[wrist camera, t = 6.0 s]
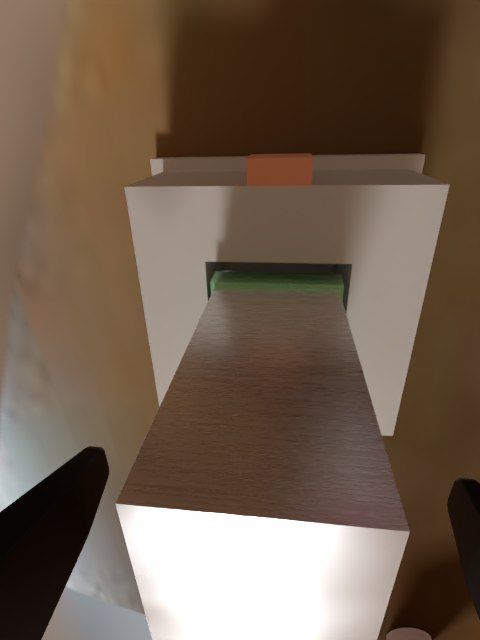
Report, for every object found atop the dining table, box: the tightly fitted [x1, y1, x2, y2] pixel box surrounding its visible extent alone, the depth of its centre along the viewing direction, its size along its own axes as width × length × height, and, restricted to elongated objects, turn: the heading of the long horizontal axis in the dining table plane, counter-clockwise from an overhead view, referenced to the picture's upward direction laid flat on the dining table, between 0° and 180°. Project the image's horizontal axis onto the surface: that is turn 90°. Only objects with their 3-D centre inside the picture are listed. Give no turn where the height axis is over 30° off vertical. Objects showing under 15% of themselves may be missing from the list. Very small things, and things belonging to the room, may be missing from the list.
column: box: [116, 270, 410, 640], centre depth 10 cm, size 4×4×10 cm
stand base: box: [125, 153, 449, 436], centre depth 16 cm, size 11×11×5 cm
